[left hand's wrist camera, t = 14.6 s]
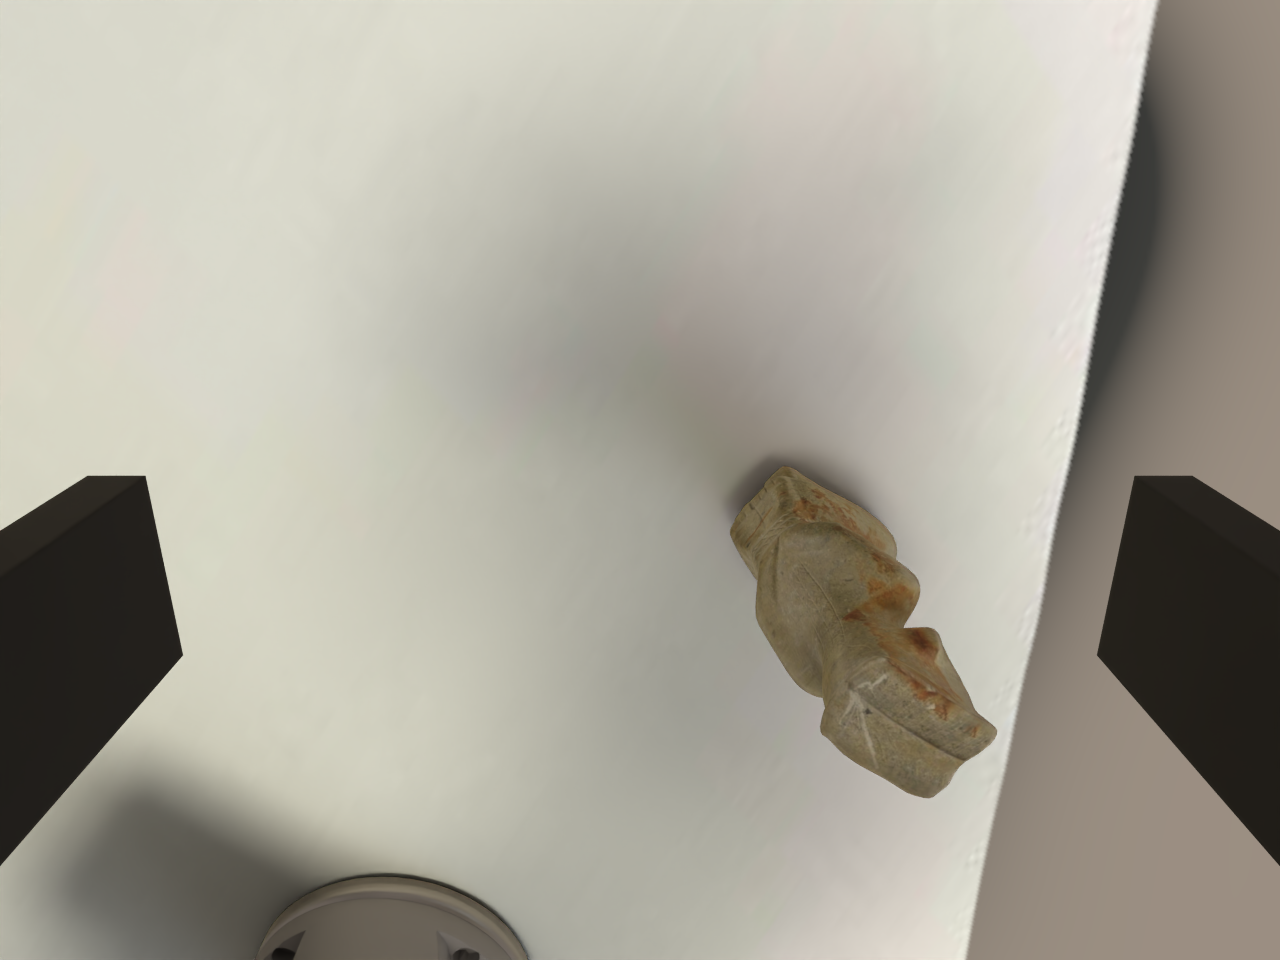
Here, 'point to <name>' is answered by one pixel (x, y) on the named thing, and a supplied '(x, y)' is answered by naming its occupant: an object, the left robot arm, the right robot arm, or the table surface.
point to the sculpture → (856, 634)
